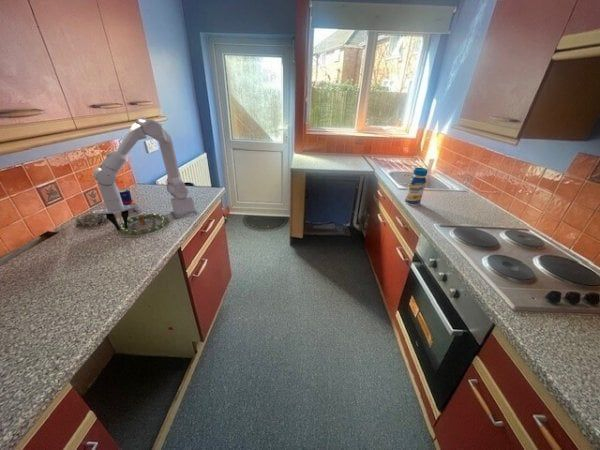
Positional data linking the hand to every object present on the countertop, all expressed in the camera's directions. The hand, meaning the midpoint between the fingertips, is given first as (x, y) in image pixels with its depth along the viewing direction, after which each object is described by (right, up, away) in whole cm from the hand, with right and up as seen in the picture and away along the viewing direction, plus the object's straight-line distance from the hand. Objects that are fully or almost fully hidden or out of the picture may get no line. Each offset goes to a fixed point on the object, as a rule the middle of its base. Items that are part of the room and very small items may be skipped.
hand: (122, 228), depth 105 cm
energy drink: (-7, +7, +16) cm, 18 cm away
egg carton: (-17, +2, +5) cm, 18 cm away
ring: (+7, +2, +4) cm, 8 cm away
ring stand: (+6, +1, +4) cm, 8 cm away
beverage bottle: (+140, +14, +38) cm, 146 cm away
